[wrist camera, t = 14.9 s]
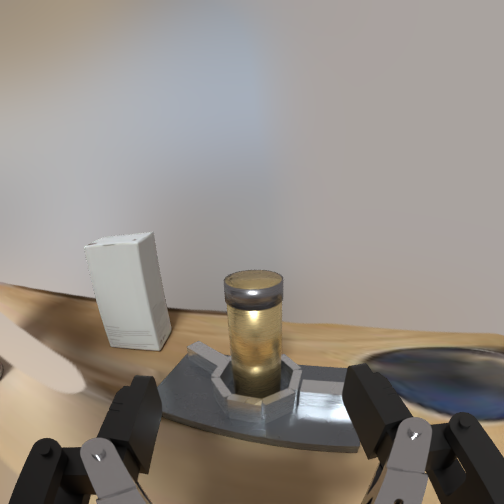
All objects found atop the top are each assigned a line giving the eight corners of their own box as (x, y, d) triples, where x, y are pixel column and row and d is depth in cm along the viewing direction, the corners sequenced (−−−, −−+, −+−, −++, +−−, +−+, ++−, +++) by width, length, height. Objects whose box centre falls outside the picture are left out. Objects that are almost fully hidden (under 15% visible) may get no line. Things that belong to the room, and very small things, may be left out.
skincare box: (172, 331, 39) (158, 230, 35) (160, 354, 33) (140, 240, 29) (123, 328, 39) (105, 233, 35) (106, 348, 33) (82, 243, 30)
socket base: (144, 410, 23) (135, 385, 22) (192, 355, 33) (188, 331, 32) (356, 452, 17) (366, 428, 16) (357, 375, 27) (362, 350, 26)
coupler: (227, 404, 23) (214, 287, 20) (242, 376, 27) (235, 268, 24) (275, 413, 22) (276, 292, 19) (285, 382, 26) (287, 271, 23)
